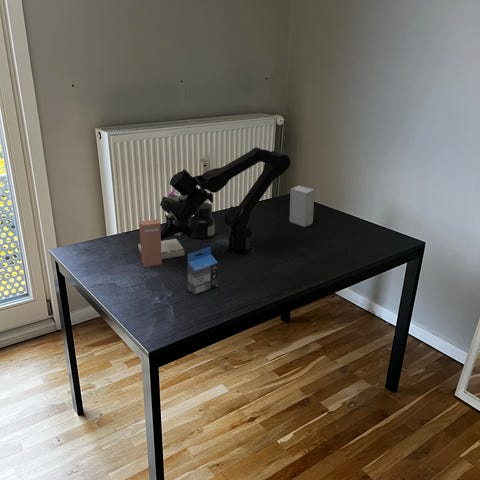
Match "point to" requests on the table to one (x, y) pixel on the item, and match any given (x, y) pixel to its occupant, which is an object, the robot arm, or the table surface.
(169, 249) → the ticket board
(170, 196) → the candy bar box
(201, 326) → the table surface
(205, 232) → the ink bottle
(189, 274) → the label tape cartridge
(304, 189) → the skincare box
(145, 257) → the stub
